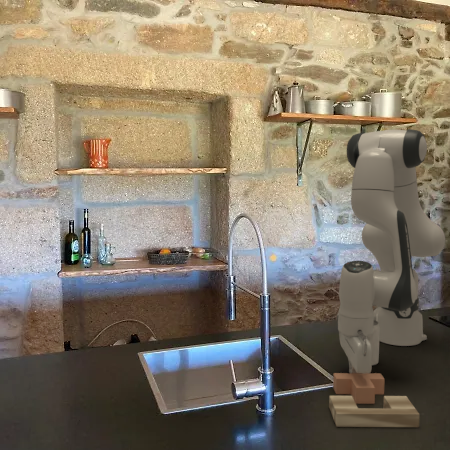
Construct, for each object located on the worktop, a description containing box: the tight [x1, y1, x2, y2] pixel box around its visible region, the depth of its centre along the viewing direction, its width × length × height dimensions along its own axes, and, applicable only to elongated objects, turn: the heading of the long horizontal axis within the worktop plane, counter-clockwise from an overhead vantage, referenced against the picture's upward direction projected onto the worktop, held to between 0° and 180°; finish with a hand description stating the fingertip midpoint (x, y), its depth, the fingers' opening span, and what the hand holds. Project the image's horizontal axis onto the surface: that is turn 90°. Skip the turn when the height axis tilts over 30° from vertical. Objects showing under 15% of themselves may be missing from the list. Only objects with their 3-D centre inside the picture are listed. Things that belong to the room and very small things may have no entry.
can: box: [368, 320, 380, 366], centre depth 144 cm, size 6×6×12 cm
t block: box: [332, 372, 385, 405], centre depth 123 cm, size 8×12×4 cm
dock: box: [328, 395, 421, 428], centre depth 113 cm, size 8×18×3 cm, turn 89°
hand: (353, 375), depth 130 cm, fingers closed
